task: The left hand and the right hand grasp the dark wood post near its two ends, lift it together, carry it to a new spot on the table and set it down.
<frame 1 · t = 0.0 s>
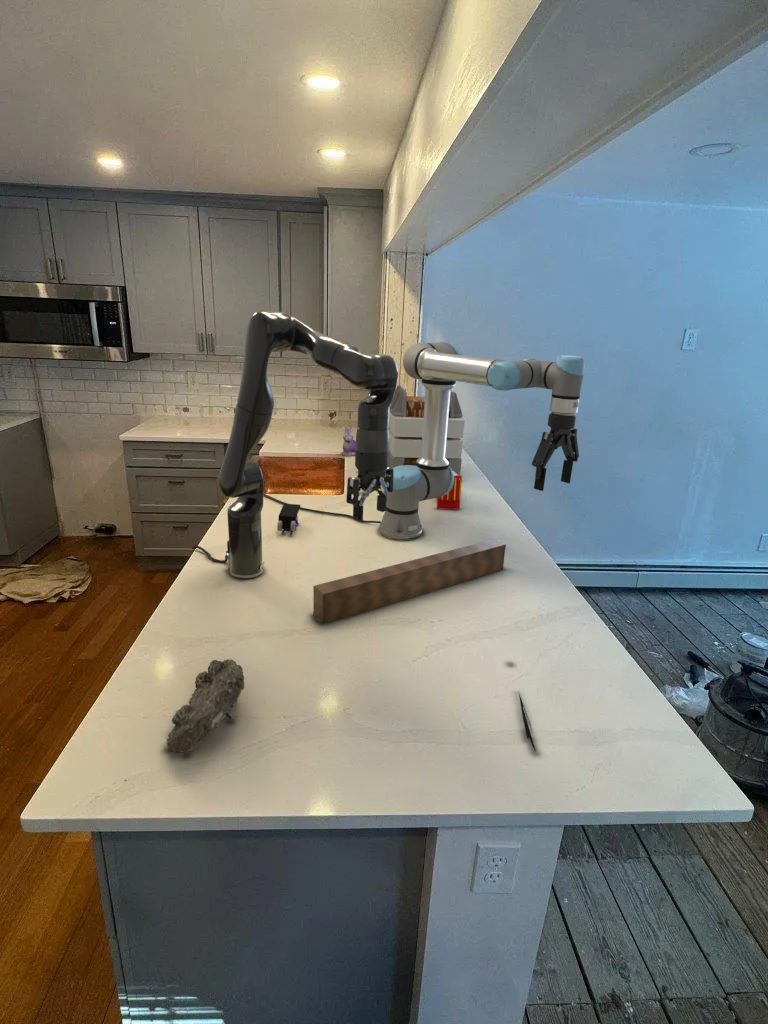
left hand: (369, 515, 132), 29 cm above the counter, tool pointing down, fingers open, 8 cm apart
right hand: (552, 485, 166), 28 cm above the counter, tool pointing down, fingers open, 13 cm apart
figurine: (349, 454, 304), on the counter
fossil: (212, 717, 108), on the counter
post: (417, 590, 161), on the counter
grey wooden crate: (419, 473, 275), on the counter
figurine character: (289, 530, 199), on the counter
toy: (443, 498, 240), on the counter
feather: (520, 704, 115), on the counter
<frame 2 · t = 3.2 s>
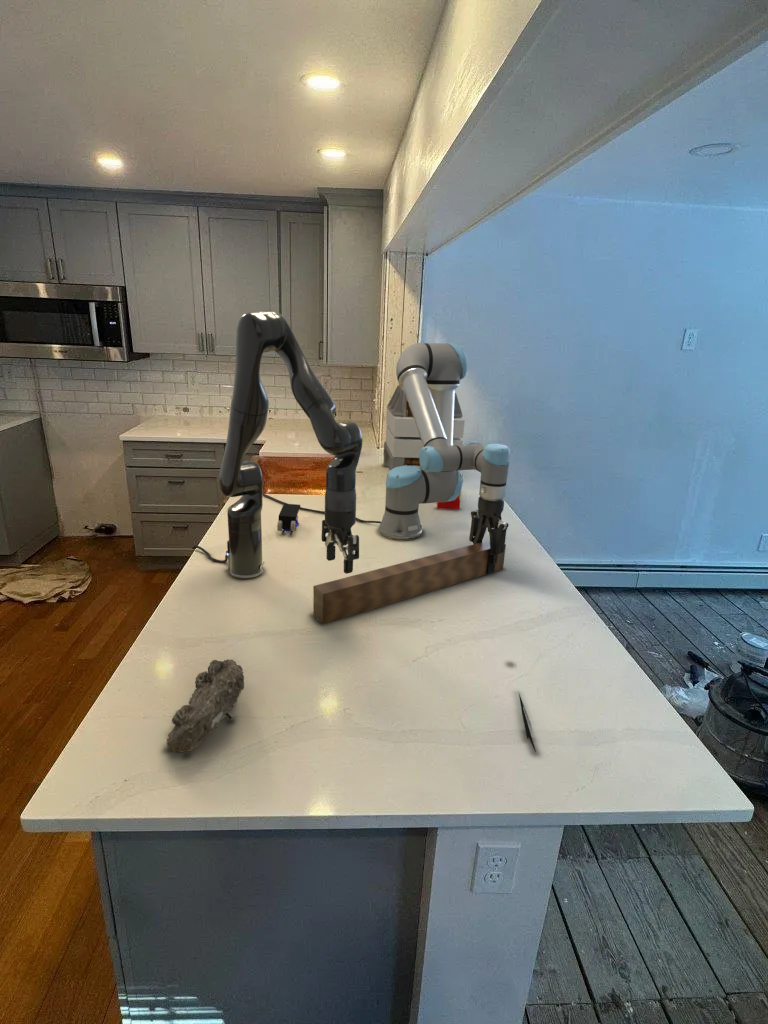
left hand: (339, 566, 142), 14 cm above the counter, tool pointing down, fingers open, 8 cm apart
right hand: (483, 568, 174), 1 cm above the counter, tool pointing down, fingers closed on post, 5 cm apart
post: (417, 590, 161), on the counter, touching right hand
everything else where it was.
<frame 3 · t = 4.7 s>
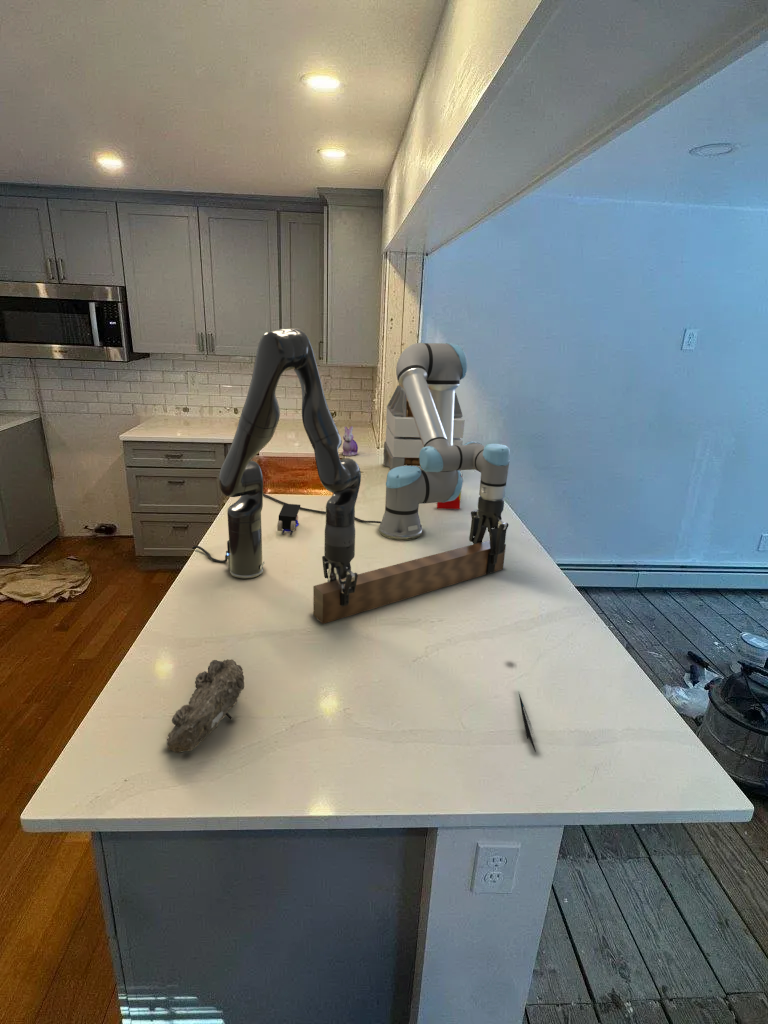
left hand: (338, 600, 145), 4 cm above the counter, tool pointing down, fingers closed on post, 5 cm apart
right hand: (483, 568, 174), 1 cm above the counter, tool pointing down, fingers closed on post, 5 cm apart
post: (417, 590, 161), on the counter, touching right hand, left hand
everything else where it was.
when the right hand's fingers open (2 cm above the counter, at t = 9.2 s): post drops 2 cm, on the counter.
when the left hand's fingers open (5 cm above the counter, at t = 9.4 s): post stays where it is, on the counter.
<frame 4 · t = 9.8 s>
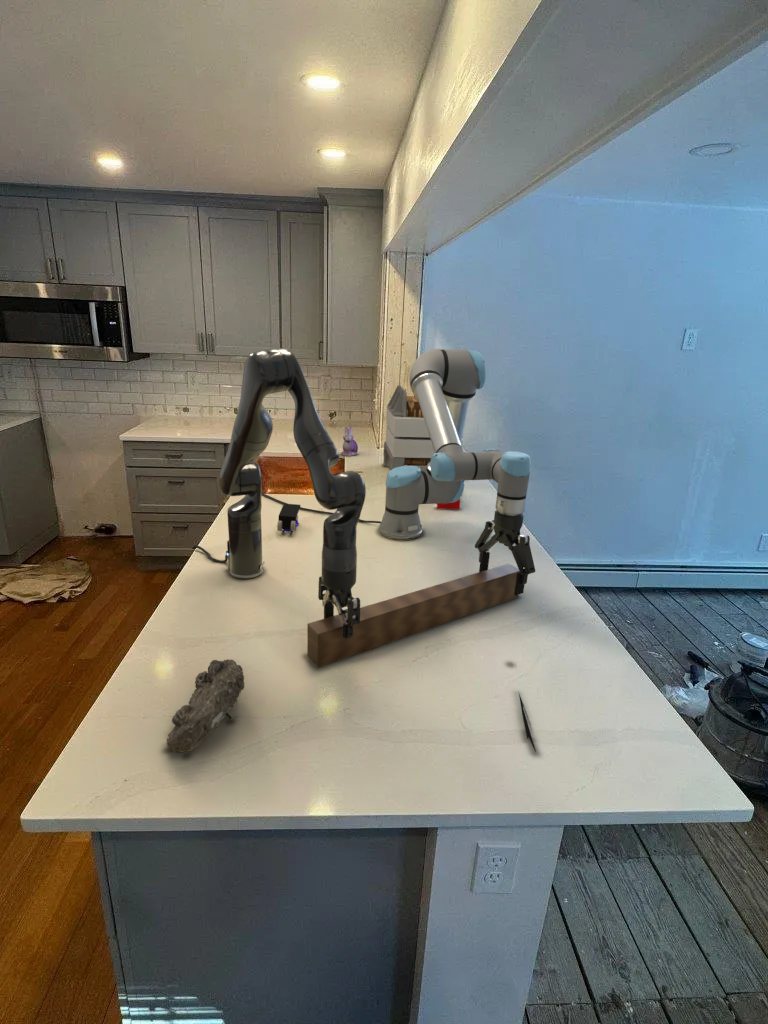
left hand: (338, 628, 127), 7 cm above the counter, tool pointing down, fingers open, 8 cm apart
right hand: (500, 583, 156), 5 cm above the counter, tool pointing down, fingers open, 13 cm apart
post: (424, 623, 144), on the counter
everything else where it was.
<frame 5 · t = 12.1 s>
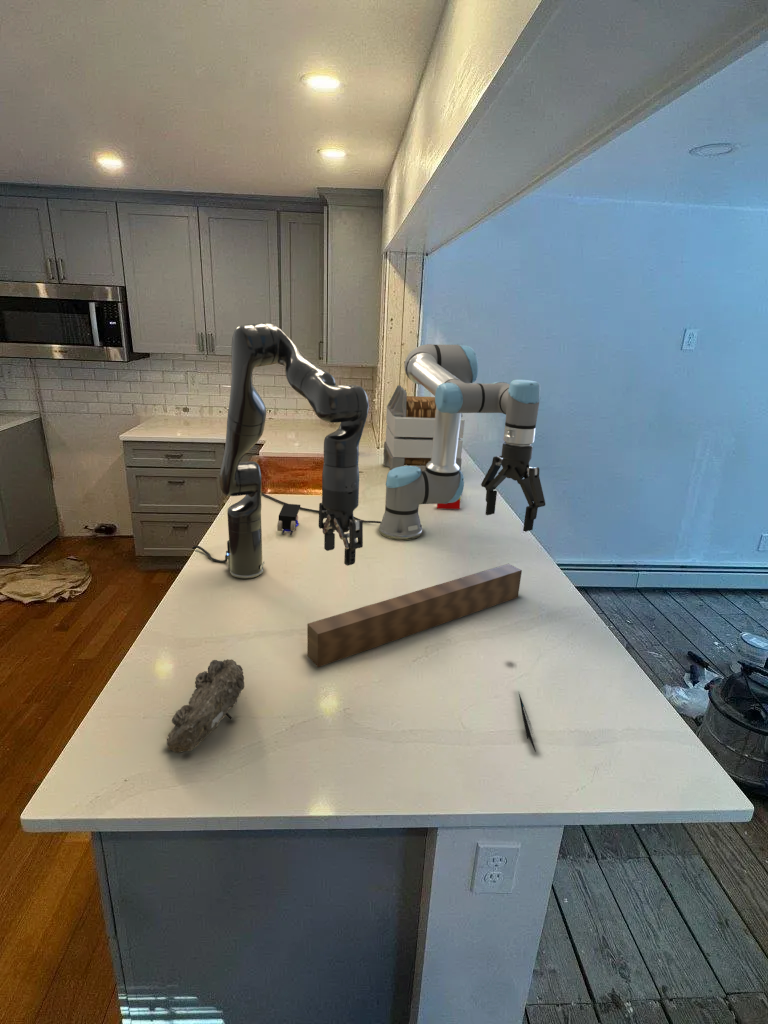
left hand: (339, 556, 121), 24 cm above the counter, tool pointing down, fingers open, 8 cm apart
right hand: (508, 522, 150), 23 cm above the counter, tool pointing down, fingers open, 13 cm apart
nothing on the counter moved.
at the end: post inside the target area (0.5 cm from its centre), on the counter; post tilted 0°; post never tilted more than 2° during the clip; both hands held the post at the same time; the left hand is holding nothing; the right hand is holding nothing; post at rest at the end (0.0 cm/s) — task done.
